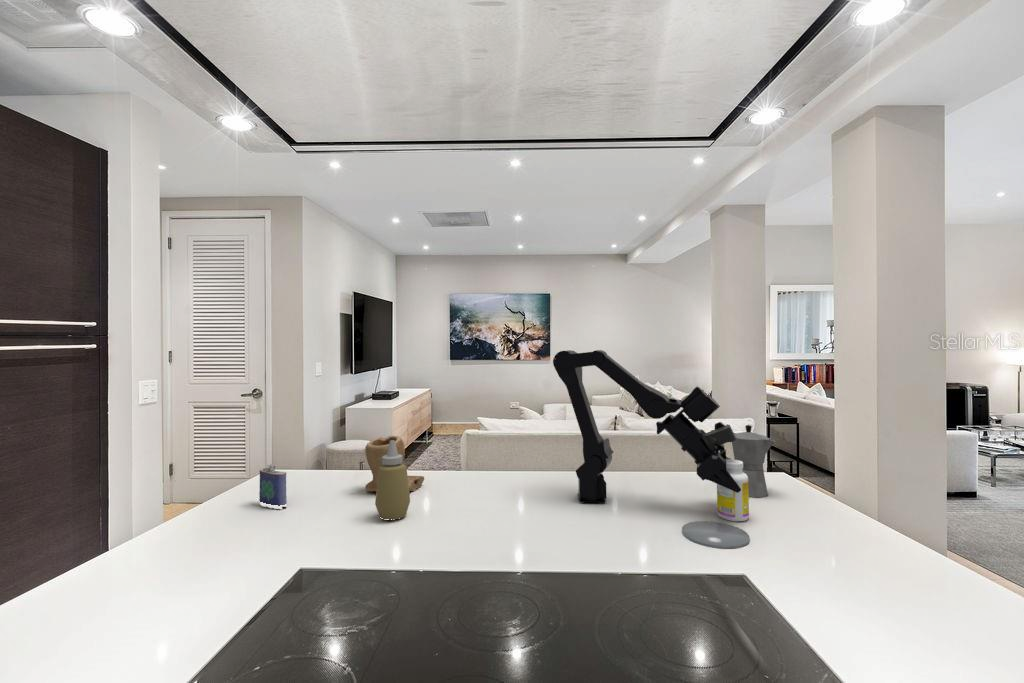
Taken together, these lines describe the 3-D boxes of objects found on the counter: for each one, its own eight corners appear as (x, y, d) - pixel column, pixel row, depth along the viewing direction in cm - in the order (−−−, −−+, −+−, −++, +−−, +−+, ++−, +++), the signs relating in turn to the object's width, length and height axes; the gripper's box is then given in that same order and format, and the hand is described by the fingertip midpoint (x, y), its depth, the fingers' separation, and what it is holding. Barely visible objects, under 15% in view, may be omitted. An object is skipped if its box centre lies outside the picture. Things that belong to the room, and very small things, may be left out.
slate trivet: (693, 548, 94) (693, 545, 94) (674, 523, 107) (674, 520, 107) (761, 548, 93) (761, 545, 93) (733, 523, 106) (733, 520, 106)
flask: (289, 507, 120) (288, 464, 120) (278, 511, 118) (277, 467, 118) (266, 502, 125) (265, 461, 125) (255, 505, 122) (254, 463, 122)
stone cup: (357, 497, 128) (356, 441, 128) (374, 484, 140) (373, 432, 140) (412, 498, 126) (412, 441, 126) (425, 484, 138) (424, 433, 138)
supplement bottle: (742, 512, 113) (741, 458, 113) (753, 522, 107) (753, 465, 107) (713, 511, 114) (712, 457, 114) (722, 522, 107) (721, 464, 107)
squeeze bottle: (367, 520, 110) (367, 442, 111) (389, 509, 118) (388, 436, 118) (397, 525, 107) (396, 445, 107) (417, 513, 115) (416, 438, 115)
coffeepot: (782, 493, 127) (781, 425, 127) (770, 502, 120) (769, 430, 120) (723, 482, 138) (722, 419, 138) (709, 489, 131) (708, 423, 131)
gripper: (712, 418, 103) (770, 475, 99) (713, 407, 120) (763, 455, 116) (674, 452, 107) (729, 508, 102) (681, 436, 124) (728, 484, 119)
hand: (739, 486), depth 110 cm, fingers closed on supplement bottle, 7 cm apart
